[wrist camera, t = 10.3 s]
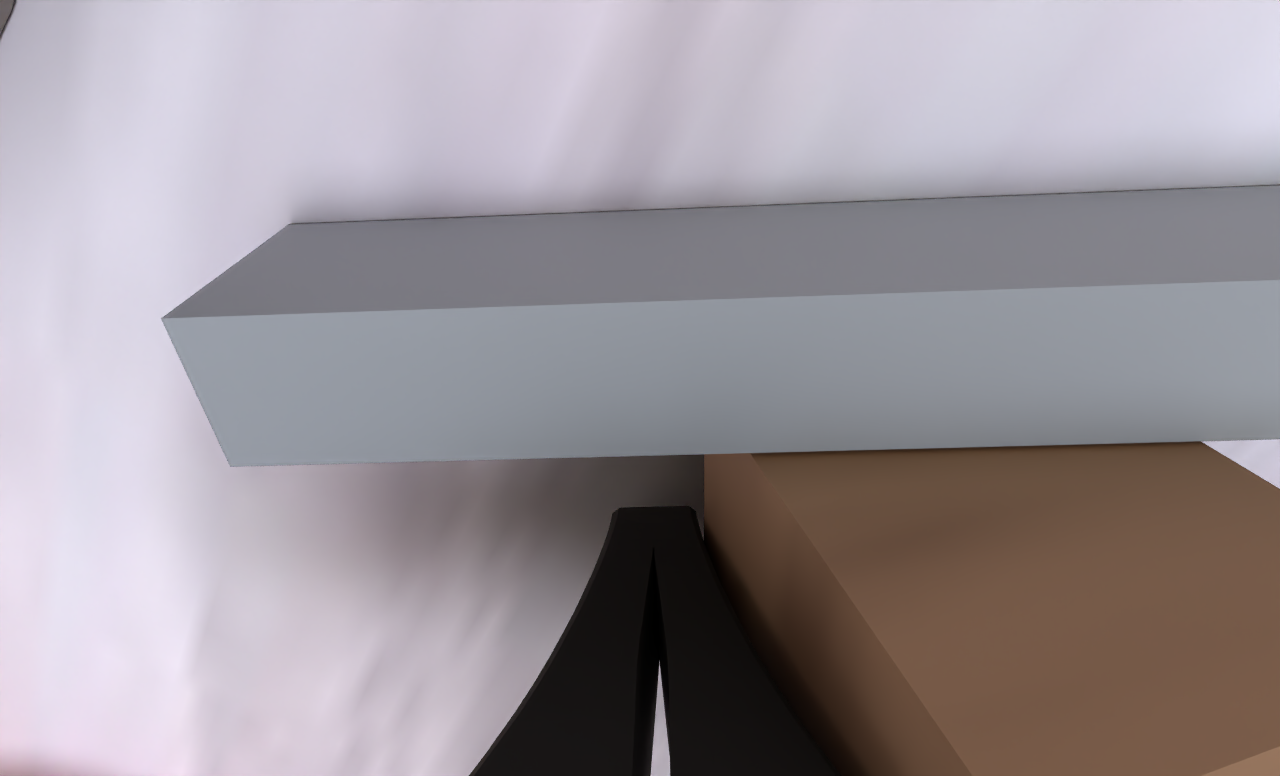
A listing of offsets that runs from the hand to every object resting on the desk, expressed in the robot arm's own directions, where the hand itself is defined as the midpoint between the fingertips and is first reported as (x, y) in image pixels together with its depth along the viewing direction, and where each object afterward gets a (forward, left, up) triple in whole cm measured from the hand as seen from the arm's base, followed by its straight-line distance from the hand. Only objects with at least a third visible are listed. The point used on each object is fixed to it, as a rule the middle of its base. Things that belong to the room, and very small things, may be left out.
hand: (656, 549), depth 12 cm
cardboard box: (0, -3, 0) cm, 3 cm away
